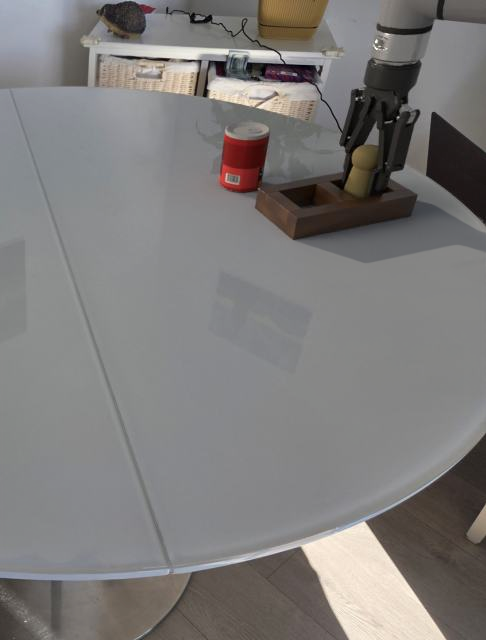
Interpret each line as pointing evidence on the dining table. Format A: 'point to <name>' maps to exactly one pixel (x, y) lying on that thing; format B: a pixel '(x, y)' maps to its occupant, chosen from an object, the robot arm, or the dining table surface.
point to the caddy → (329, 206)
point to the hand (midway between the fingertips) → (359, 196)
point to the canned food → (244, 156)
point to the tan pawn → (361, 170)
